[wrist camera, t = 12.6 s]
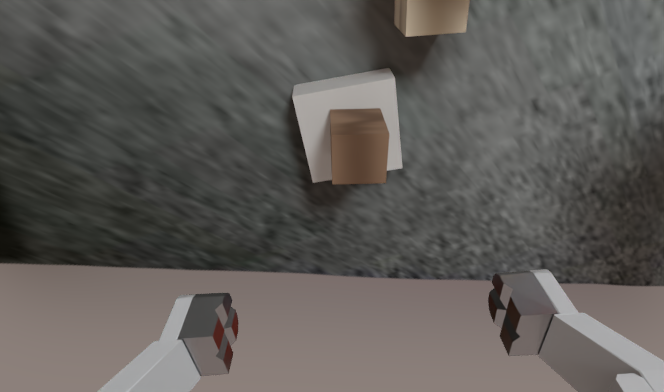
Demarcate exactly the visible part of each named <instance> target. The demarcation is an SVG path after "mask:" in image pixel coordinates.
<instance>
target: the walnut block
mask: <svg viewBox="0 0 664 392" xmlns="http://www.w3.org/2000/svg"><path fill="white" fill-rule="evenodd" d="M330 136H331V168H332V184H369V183H386V173H387V160H388V147H389V131H388V128H387V125H386V123H385V120H384V117H383V114H382V112H381V109H380V108H371V109H330Z"/></svg>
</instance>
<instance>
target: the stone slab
mask: <svg viewBox="0 0 664 392" xmlns="http://www.w3.org/2000/svg"><path fill="white" fill-rule="evenodd" d="M292 98H293V102H294V106H295V111H296V115H297V119H298V123H299V127H300V131H301V135H302V139H303V144H304V148H305V152H306V156H307V160H308V164H309V168H310V173H311V177H312V181H313V183H315V182H321V181H327V180H332V168H331V136H330V109H371V108H380V109H381V112H382V114H383V117H384V120H385V123H386V125H387V128H388V131H389V147H388V160H387V171H388V170H394V169H400V168H402V157H401V145H400V133H399V120H398V108H397V96H396V84H395V77H394V75H393V73H392V72H391V70H390V68H385V69H379V70H374V71H368V72H363V73H358V74H352V75H347V76H341V77H336V78H331V79H325V80H320V81H314V82H309V83H304V84H298V85H294V89H293V95H292Z"/></svg>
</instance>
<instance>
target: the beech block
mask: <svg viewBox="0 0 664 392" xmlns="http://www.w3.org/2000/svg"><path fill="white" fill-rule="evenodd" d="M469 1H470V0H395V12H394V25H395V26H396V27H397V28H398V29H399V30H400V31H401V32H402V33H403V34H404V36H405V37H411V36H424V35H437V34H449V33H462V32H466V26H467V17H468V9H469Z"/></svg>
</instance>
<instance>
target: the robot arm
mask: <svg viewBox="0 0 664 392" xmlns="http://www.w3.org/2000/svg"><path fill="white" fill-rule="evenodd" d="M492 284H493V286H494V289H493V290H492V291H490V293H489V298H488V303H489V311H490V314H491V317H492V319H493V322H494V323H495V324H496V325H497V326H499V327H500V328H501V333H500V338H501V340H502V342H503V344H504V347H505V349H506V351H507V353H508V355H509V356H520V355H539V357H540V358H541V359H542V360H543V361H544V362H545V363H546V364H548V365H549V366H550V367H551V368H552V369H553V370H554V371H555V372H557V373H558V374H559V375H560V376H561V377H562V378H563V379H564V380H565V381H567V382H568V383H569V384H570V385H571V386H572V387H573V388H574V389H575V390H577V391H578V392H664V361H663V360H661V359H659V358H658V357H656V356H654V355H653V354H651V353H649V352H648V351H646V350H644V349H643V348H641V347H640V346H638V345H636V344H635V343H633V342H632V341H630V340H628V339H627V338H625V337H623V336H622V335H620V334H618V333H617V332H615V331H613V330H612V329H610V328H609V327H607V326H605V325H604V324H602V323H600V322H599V321H597V320H595V319H594V318H592V317H590V316H589V315H587V314H586V313H579V312H578V311H577V309H576V308H575V307H574V305H573V304H572V302H571V301H570V299H569V298H568V296H567V295H566V294H565V292H564V291H563V289H562V288H561V287H560V285H559V284H558V282H557V281H556V279H555V278H554V276H553V275H552V273H551V272H550V271H548V270H547V269H544V270H531V271H517V272H505V273H495V274H494V276H493V279H492ZM231 303H232V299H231V296H230V294H229V293H211V294H195V295H180V296H179V297H178V298H177V299H176V301H175V304H174V306H173V308H172V310H171V313H170V315H169V318H168V320H167V322H166V325H165V327H164V330H163V332H162V334H161V337H160V339H159V341H154V342H153V343H151V344H150V345H149V346H148V347H147V348H146V349H145V350H144V351H142V352H141V353H140V354H139V355H138V356H137V357H136V358H135V359H134V360H132V361H131V362H130V363H129V364H128V365H127V366H126V367H124V368H123V369H122V370H121V371H120V372H119V373H118V374H117V375H115V376H114V377H113V378H112V379H111V380H110V381H109V382H108V383H106V384H105V385H104V386H103V387H102V388H101V389H100V390H99V391H97V392H190V391H191V390H192V389H193V387H194V386H195V385H196V383H197V382H198V381H199V380H200V379H201V377H200V376H208V375H219V374H228V373H229V369H230V365H231V361H232V357H233V351H232V349H231V345H232V344H233V343H234V342H235V341H236V339H237V334H238V317H237V313H236V310H235V309H233V308H232V307H231Z"/></svg>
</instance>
